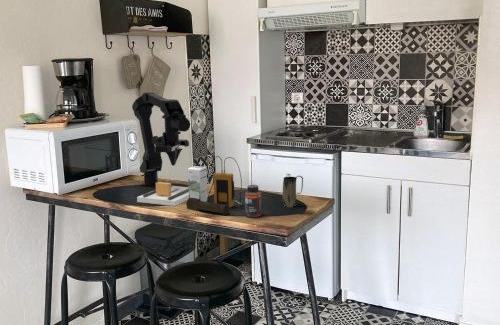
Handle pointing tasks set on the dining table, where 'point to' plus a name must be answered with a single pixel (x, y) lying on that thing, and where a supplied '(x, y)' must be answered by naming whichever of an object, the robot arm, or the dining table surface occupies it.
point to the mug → (290, 191)
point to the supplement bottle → (253, 201)
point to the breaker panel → (174, 199)
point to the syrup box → (197, 182)
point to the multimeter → (224, 187)
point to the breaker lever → (163, 188)
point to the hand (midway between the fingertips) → (173, 165)
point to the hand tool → (207, 206)
